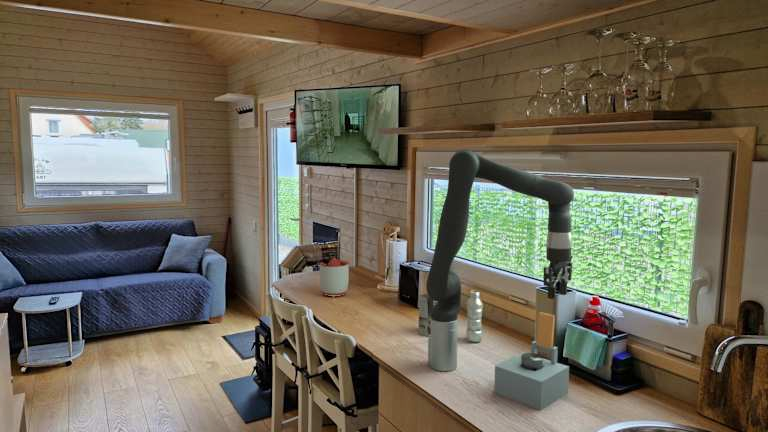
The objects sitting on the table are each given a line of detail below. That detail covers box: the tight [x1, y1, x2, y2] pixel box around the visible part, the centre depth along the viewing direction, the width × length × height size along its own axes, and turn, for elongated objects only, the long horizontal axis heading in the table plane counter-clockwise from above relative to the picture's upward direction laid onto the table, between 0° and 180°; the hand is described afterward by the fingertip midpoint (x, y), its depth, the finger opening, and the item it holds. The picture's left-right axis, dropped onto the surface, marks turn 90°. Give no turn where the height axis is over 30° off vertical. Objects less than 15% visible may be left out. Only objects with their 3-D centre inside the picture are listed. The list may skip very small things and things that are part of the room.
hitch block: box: [493, 340, 570, 411], centre depth 163 cm, size 16×16×14 cm
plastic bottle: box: [465, 289, 484, 343], centre depth 208 cm, size 6×7×20 cm
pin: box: [521, 352, 544, 371], centre depth 163 cm, size 6×6×11 cm
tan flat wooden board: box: [536, 311, 556, 354], centre depth 167 cm, size 5×12×2 cm
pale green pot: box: [318, 257, 350, 295], centre depth 278 cm, size 16×17×20 cm
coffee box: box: [418, 293, 438, 338], centre depth 218 cm, size 9×6×16 cm
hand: (557, 296), depth 170 cm, fingers open, 7 cm apart
